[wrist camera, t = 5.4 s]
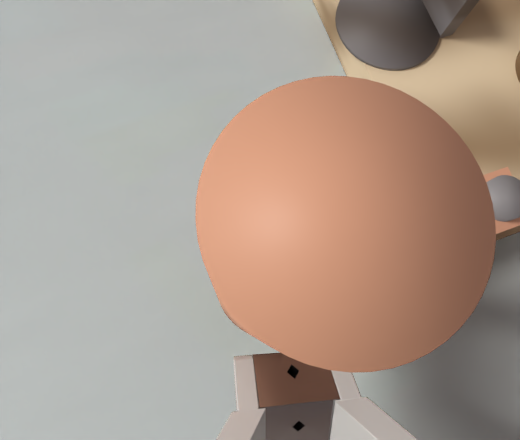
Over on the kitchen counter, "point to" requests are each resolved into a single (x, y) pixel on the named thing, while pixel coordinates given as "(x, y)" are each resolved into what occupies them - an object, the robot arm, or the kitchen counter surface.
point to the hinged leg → (348, 223)
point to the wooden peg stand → (441, 64)
